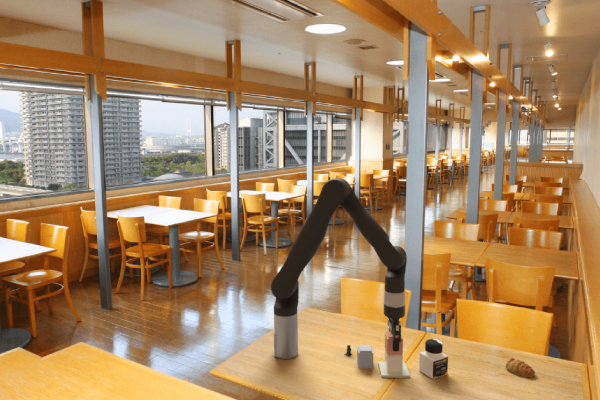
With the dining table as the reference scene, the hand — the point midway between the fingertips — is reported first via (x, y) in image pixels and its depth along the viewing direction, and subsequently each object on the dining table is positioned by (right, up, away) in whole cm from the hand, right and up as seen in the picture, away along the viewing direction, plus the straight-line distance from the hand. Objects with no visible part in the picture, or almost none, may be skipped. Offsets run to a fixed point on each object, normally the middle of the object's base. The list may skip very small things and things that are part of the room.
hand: (393, 345), depth 164 cm
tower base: (0, -10, +1) cm, 10 cm away
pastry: (+45, -10, 0) cm, 46 cm away
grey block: (-10, -9, +6) cm, 15 cm away
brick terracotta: (0, -2, 0) cm, 2 cm away
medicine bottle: (+14, -10, -1) cm, 17 cm away
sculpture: (-15, -9, +14) cm, 23 cm away
